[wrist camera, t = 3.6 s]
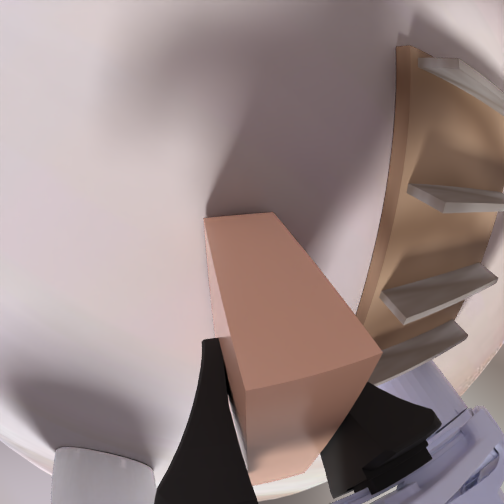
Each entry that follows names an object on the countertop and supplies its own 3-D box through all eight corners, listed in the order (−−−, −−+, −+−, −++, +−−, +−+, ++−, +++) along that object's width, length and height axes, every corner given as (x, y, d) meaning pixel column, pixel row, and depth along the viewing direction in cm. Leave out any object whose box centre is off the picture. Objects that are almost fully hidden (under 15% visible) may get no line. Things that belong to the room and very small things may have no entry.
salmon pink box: (264, 365, 16) (304, 472, 10) (220, 373, 15) (247, 486, 9) (272, 212, 11) (382, 352, 5) (203, 218, 10) (245, 390, 4)
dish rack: (445, 319, 21) (466, 341, 18) (339, 360, 19) (360, 395, 16) (503, 108, 11) (537, 119, 8) (396, 46, 8) (451, 43, 6)
